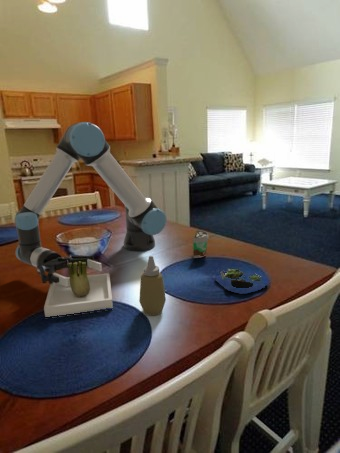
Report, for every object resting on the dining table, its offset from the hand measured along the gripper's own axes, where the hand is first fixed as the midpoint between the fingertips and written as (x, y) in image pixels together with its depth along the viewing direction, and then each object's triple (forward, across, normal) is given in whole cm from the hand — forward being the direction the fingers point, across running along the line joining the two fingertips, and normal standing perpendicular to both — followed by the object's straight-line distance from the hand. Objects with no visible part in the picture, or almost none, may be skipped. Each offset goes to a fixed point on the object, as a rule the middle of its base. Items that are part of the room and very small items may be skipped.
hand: (84, 274), depth 104 cm
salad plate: (+35, -40, -10) cm, 55 cm away
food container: (+10, -56, -10) cm, 57 cm away
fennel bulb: (-3, 0, -9) cm, 9 cm away
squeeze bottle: (+22, -8, -10) cm, 25 cm away
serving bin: (-3, 0, -10) cm, 10 cm away
